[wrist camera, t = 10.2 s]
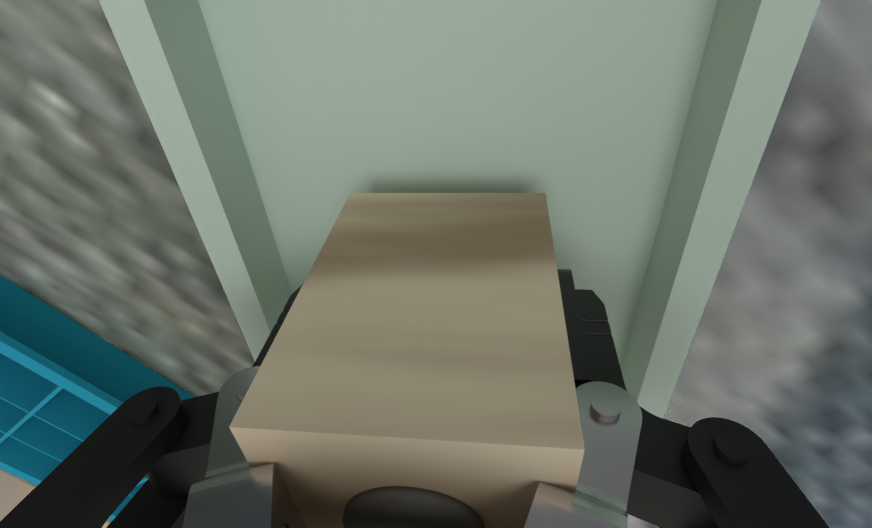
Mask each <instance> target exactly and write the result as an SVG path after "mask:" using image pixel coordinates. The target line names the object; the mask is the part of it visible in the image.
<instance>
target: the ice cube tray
mask: <svg viewBox="0 0 872 528" xmlns="http://www.w3.org/2000/svg"><path fill="white" fill-rule="evenodd" d="M159 386H163V387H170V388H172V389H174V390H175V391H177V393H178V394H179V396H180V398H181V399H182V400H186V399H190V398H195V397H194V396H193V395H191V394H190V393H188V392H186V391H185V390H183V389H182V388H180V387H178V386H177V385H175V384H174V383H172V382H170V381H169V380H167V379H166V378H164V377H162V376H161V375H159V374H158V373H156V372H154V371H153V370H151V369H150V368H148V367H146V366H145V365H143V364H142V363H140V362H138V361H137V360H135V359H134V358H132V357H130V356H129V355H127V354H126V353H124V352H122V351H121V350H119V349H118V348H116V347H114V346H113V345H111V344H110V343H108V342H106V341H105V340H103V339H102V338H100V337H98V336H97V335H95V334H94V333H92V332H90V331H89V330H87V329H86V328H84V327H82V326H81V325H79V324H78V323H76V322H74V321H73V320H71V319H70V318H68V317H66V316H65V315H63V314H62V313H60V312H58V311H57V310H55V309H54V308H52V307H50V306H49V305H47V304H46V303H44V302H42V301H41V300H39V299H38V298H36V297H34V296H33V295H31V294H30V293H28V292H26V291H25V290H23V289H22V288H20V287H18V286H17V285H15V284H14V283H12V282H10V281H9V280H7V279H6V278H4V277H2V276H1V275H0V469H3V470H5V471H7V472H9V473H11V474H13V475H15V476H18V477H20V478H22V479H24V480H26V481H28V482H30V483H33V484H35V485H37V486H38V485H39V484H40V483H41V482H42V481H43V480H44V479H45V478H46V477H47V476H48V475H49V474H50V473H51V472H52V471H53V470H54V469H55V468H56V467H57V466H58V465H59V464H60V463H61V462H62V461H63V460H64V459H66V458H67V457H68V456H69V455H70V454H71V453H72V452H73V451H74V450H75V449H76V448H77V447H78V446H79V445H80V444H81V443H82V442H83V441H84V440H85V439H86V438H87V437H88V436H89V435H90V434H91V433H92V432H93V431H94V430H95V429H96V428H98V427H99V426H100V425H101V424H102V423H103V422H104V421H105V420H106V419H107V418H108V417H109V416H110V415H111V414H112V413H113V412H114V411H115V410H116V409H117V408H118V407H119V406H120V405H121V404H122V403H124V402H125V401H126V400H127V399H129V398H130V397H131V396H133V395H135V394H137V393H139V392H141V391H143V390H146V389H149V388H153V387H159ZM147 480H148V479H147V478H146V477H145V476H144V478H143V479H142V480H141V481H140V482H139V483H138V485H137V486H136V487H135V488H134V489H133V490H132V491H131V493H130V494H129V495H128V496H127V497H126V498H125V500H124V501H123V502H122V503H121V504H120V505H119V506H118V508H117V509H116V510H115V511H114V512H113V513H112V515H111V516H110V517H109V518H108V519H110V520H112V521H113V520H114V518H115V517H116V516H117V515H118V514H119V513H120V511H121V510H122V509H123V508H124V507H125V505H126V504H127V503H128V502H129V501H130V500H131V498H132V497H133V496H134V495H135V494H136V493H137V491H138V490H139V489H140V488H141V487H142V486H143V484H144V483H145V482H146V481H147Z"/></svg>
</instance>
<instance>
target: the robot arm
mask: <svg viewBox="0 0 872 528" xmlns="http://www.w3.org/2000/svg"><path fill="white" fill-rule="evenodd" d="M557 271H558V278H559V284H560V291H561V297H562V304H563V310H564V317H565V323H566V330H567V336H568V343H569V350H570V356H571V363H572V369H573V376H574V382H575V389H576V395H577V402H578V408H579V415H580V421H581V428H582V434H583V441H584V447H585V451H584V456H583V460H582V464H581V469H580V473H579V477H578V482H577V486H576V491H575V492H573V491H570V490H568V489H566V488H563V487H560V486H556V485H553V484H549V483H545V482H540V483H539V485H538V488H537V491H536V494H535V497H534V500H533V503H532V506H531V509H530V512H529V515H528V518H527V521H526V524H525V527H524V528H626V527H627V518H628V515H627V514H630V515H632V516H635V517H637V518H640V519H642V520H644V521H647V522H649V523H652V524H654V525H657V526H659V527H660V528H829V527H828V525H827V524H826V523H825V521H824V520H823V519H822V518H821V516H820V515H819V514H818V512H817V511H816V510H815V508H814V507H813V506H812V504H811V503H810V502H809V500H808V499H807V498H806V496H805V495H804V494H803V493H802V491H801V490H800V489H799V487H798V486H797V485H796V483H795V482H794V481H793V479H792V478H791V477H790V475H789V474H788V473H787V472H786V470H785V469H784V468H783V466H782V465H781V464H780V462H779V461H778V460H777V458H776V457H775V456H774V454H773V453H772V452H771V451H770V449H769V448H768V447H767V445H766V444H765V443H764V442H763V441H762V439H761V438H760V437H758V436H757V435H756V434H755V433H754V432H752V431H751V430H750V429H748V428H746V427H745V426H743V425H741V424H739V423H737V422H734V421H731V420H728V419H724V418H715V417H713V418H705V419H702V420H699V421H697V422H696V423H695V424H693V426H692V427H691V428H690V427H687V426H684V425H681V424H678V423H675V422H672V421H669V420H666V419H663V418H660V417H657V416H655V415H653V414H651V413H649V412H648V411H646V410H645V409H643V408H642V407H641V406H639V404H638V403H637V401H636V400H635V398H634V397H633V396H632V395H631V394H630V393H629V392H628V391H627V389H626V387H625V384H624V380H623V376H622V372H621V368H620V364H619V360H618V356H617V352H616V348H615V344H614V341H613V337H612V336H611V329H610V325H609V323H608V317H607V313H606V309H605V305H604V303H603V302H602V301H601V300H600V298H599V297H598V296H597V295H596V294H595V293H594V291H593V290H582V289H575V286H574V281H573V276H572V271H571V270H570V269H557ZM301 287H302V285H301V286H300V287H299V288H298V289H297V290H296V291H295V292H293V293H292V294H291V295H290V297H289V299H288V301H287V303H286V305H285V307H284V309H283V312H281V314H280V316H279V318H278V320H277V324H275V325H274V327H273V329H272V331H271V333H270V335H269V337H268V338H267V340H266V342H265V344H264V346H263V348H262V350H261V352H260V353H259V355H258V357H257V359H256V361H255V363H254V365H253V366H252V367H250V368H247V369H244V370H242V371H240V372H238V373H236V374H235V375H233V376H232V377H231V378H230V379H228V380H227V381H226V383H225V384H224V385H223V386H222V388H221V390H220V392H216V393H212V394H208V395H204V396H199V397H195V398H190V399H186V400H182V399H181V398H180V396H179V394H178V393H177V391H175V390H174V389H172V388H170V387H163V386H159V387H153V388H149V389H146V390H143V391H141V392H139V393H137V394H135V395H133V396H131V397H130V398H129V399H127V400H126V401H125V402H124V403H122V404H121V405H120V406H119V407H118V408H117V409H116V410H115V411H114V412H113V413H112V414H111V415H110V416H109V417H108V418H107V419H106V420H105V421H104V422H103V423H102V424H101V425H100V426H99V427H98V428H96V429H95V430H94V431H93V432H92V433H91V434H90V435H89V436H88V437H87V438H86V439H85V440H84V441H83V442H82V443H81V444H80V445H79V446H78V447H77V448H76V449H75V450H74V451H73V452H72V453H71V454H70V455H69V456H68V457H67V458H66V459H64V460H63V461H62V462H61V463H60V464H59V465H58V466H57V467H56V468H55V469H54V470H53V471H52V472H51V473H50V474H49V475H48V476H47V477H46V478H45V479H44V480H43V481H42V482H41V483H40V484H39V485H38V486H37V487H36V488H35V489H34V490H32V491H31V492H30V493H29V495H27V496H26V497H25V498H24V499H23V500H22V501H21V502H20V503H19V504H18V505H17V506H16V507H15V508H14V509H13V510H12V511H11V512H10V513H9V514H8V515H7V516H6V517H5V518H4V519H3V520H2V521H0V528H102V526H103V525H104V523H105V522H106V520H107V519H108V518H109V517H110V516H111V515H112V513H113V512H114V511H115V510H116V509H117V508H118V506H119V505H120V504H121V503H122V502H123V501H124V500H125V498H126V497H127V496H128V495H129V494H130V493H131V491H132V490H133V489H134V488H135V487H136V486H137V485H138V483H139V482H140V481H141V480H142V479H143V478H144V476H145V477H146V478H147V479H148V480H147V481H146V482H145V483H144V484H143V486H142V487H141V488H140V489H139V490H138V491H137V493H136V494H135V495H134V496H133V497H132V498H131V500H130V501H129V502H128V503H127V504H126V505H125V507H124V508H123V509H122V510H121V511H120V513H119V514H118V515H117V516H116V517H115V518H114V520H113V521H112V522H111V523H110V524H109V525H108V527H107V528H306V526H305V524H304V522H303V520H302V518H301V516H300V514H299V512H298V509H297V507H296V505H295V503H294V501H293V499H292V497H291V495H290V493H289V491H288V489H287V487H286V485H285V482H284V480H283V478H282V476H281V474H280V472H279V470H278V468H277V466H276V464H275V462H273V463H265V464H260V465H255V466H251V467H250V465H249V463H248V461H247V459H246V458H245V456H244V454H243V452H242V450H241V448H240V446H239V445H238V443H237V441H236V439H235V437H234V435H233V434H232V432H231V430H230V428H229V426H230V424H231V422H232V420H233V418H234V416H235V414H236V413H237V411H238V409H239V407H240V405H241V403H242V401H243V399H244V397H245V395H246V393H247V391H248V389H249V387H250V385H251V384H252V382H253V380H254V378H255V376H256V374H257V372H258V370H259V368H260V366H261V364H262V362H263V360H264V358H265V357H266V355H267V353H268V351H269V349H270V347H271V345H272V343H273V341H274V339H275V337H276V335H277V333H278V331H279V329H280V328H281V326H282V324H283V322H284V320H285V318H286V316H287V314H288V312H289V310H290V308H291V306H292V304H293V302H294V301H295V299H296V297H297V295H298V293H299V291H300V289H301Z"/></svg>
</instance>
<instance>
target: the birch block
mask: <svg viewBox="0 0 872 528" xmlns="http://www.w3.org/2000/svg"><path fill="white" fill-rule="evenodd" d="M229 428H230V430H231V432H232V434H233V435H234V437H235V439H236V441H237V443H238V445H239V446H240V448H241V450H242V452H243V454H244V456H245V458H246V459H247V461H248V463H249V465H250V467H251V466H255V465H260V464H265V463H273V462H275V464H276V466H277V468H278V470H279V472H280V474H281V476H282V478H283V480H284V482H285V485H286V487H287V489H288V491H289V493H290V495H291V497H292V499H293V501H294V503H295V505H296V507H297V509H298V512H299V514H300V516H301V518H302V520H303V522H304V524H305V526H306V528H524V527H525V524H526V521H527V518H528V515H529V512H530V509H531V506H532V503H533V500H534V497H535V494H536V491H537V488H538V485H539V483H540V482H545V483H549V484H553V485H556V486H560V487H563V488H566V489H568V490H570V491H573V492H575V491H576V486H577V482H578V477H579V473H580V469H581V464H582V460H583V456H584V451H585V447H584V441H583V434H582V428H581V421H580V415H579V408H578V402H577V395H576V389H575V382H574V376H573V369H572V363H571V356H570V350H569V343H568V336H567V330H566V323H565V317H564V310H563V304H562V297H561V291H560V284H559V278H558V271H557V265H556V258H555V252H554V245H553V239H552V232H551V225H550V219H549V212H548V206H547V199H546V193H350V194H349V196H348V198H347V200H346V202H345V204H344V206H343V208H342V210H341V212H340V214H339V216H338V218H337V219H336V221H335V223H334V225H333V227H332V229H331V231H330V233H329V235H328V237H327V239H326V241H325V243H324V245H323V246H322V248H321V250H320V252H319V254H318V256H317V258H316V260H315V262H314V264H313V266H312V268H311V270H310V272H309V274H308V275H307V277H306V279H305V281H304V283H303V285H302V287H301V289H300V291H299V293H298V295H297V297H296V299H295V301H294V302H293V304H292V306H291V308H290V310H289V312H288V314H287V316H286V318H285V320H284V322H283V324H282V326H281V328H280V329H279V331H278V333H277V335H276V337H275V339H274V341H273V343H272V345H271V347H270V349H269V351H268V353H267V355H266V357H265V358H264V360H263V362H262V364H261V366H260V368H259V370H258V372H257V374H256V376H255V378H254V380H253V382H252V384H251V385H250V387H249V389H248V391H247V393H246V395H245V397H244V399H243V401H242V403H241V405H240V407H239V409H238V411H237V413H236V414H235V416H234V418H233V420H232V422H231V424H230V426H229Z"/></svg>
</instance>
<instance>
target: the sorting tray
mask: <svg viewBox="0 0 872 528" xmlns="http://www.w3.org/2000/svg"><path fill="white" fill-rule="evenodd" d="M99 1H100V4H101V6H102V8H103V11H104V13H105V15H106V18H107V20H108V22H109V25H110V27H111V29H112V32H113V34H114V36H115V38H116V41H117V43H118V45H119V48H120V50H121V52H122V55H123V57H124V59H125V62H126V64H127V66H128V69H129V71H130V73H131V76H132V78H133V80H134V83H135V85H136V87H137V90H138V92H139V94H140V96H141V99H142V101H143V103H144V106H145V108H146V110H147V113H148V115H149V117H150V120H151V122H152V124H153V127H154V129H155V131H156V134H157V136H158V138H159V141H160V143H161V145H162V147H163V150H164V152H165V154H166V157H167V159H168V161H169V164H170V166H171V168H172V171H173V173H174V175H175V178H176V180H177V182H178V185H179V187H180V189H181V192H182V194H183V196H184V198H185V201H186V203H187V205H188V208H189V210H190V212H191V215H192V217H193V219H194V222H195V224H196V226H197V229H198V231H199V233H200V236H201V238H202V240H203V243H204V245H205V247H206V250H207V252H208V254H209V256H210V259H211V261H212V263H213V266H214V268H215V270H216V273H217V275H218V277H219V280H220V282H221V284H222V287H223V289H224V291H225V294H226V296H227V298H228V301H229V303H230V305H231V307H232V310H233V312H234V314H235V317H236V319H237V321H238V324H239V326H240V328H241V331H242V333H243V335H244V338H245V340H246V342H247V345H248V347H249V349H250V352H251V354H252V356H253V359H254V361H256V359H257V357H258V355H259V353H260V352H261V350H262V348H263V346H264V344H265V342H266V340H267V338H268V337H269V335H270V333H271V331H272V329H273V327H274V325H275V324H277V320H278V318H279V316H280V314H281V312H283V309H284V307H285V305H286V303H287V301H288V299H289V297H290V295H291V294H292V293H293V292H295V291H296V290H297V289H298V288H299V287H300V286H301V285H303V283H304V281H305V279H306V277H307V275H308V274H309V272H310V270H311V268H312V266H313V264H314V262H315V260H316V258H317V256H318V254H319V252H320V250H321V248H322V246H323V245H324V243H325V241H326V239H327V237H328V235H329V233H330V231H331V229H332V227H333V225H334V223H335V221H336V219H337V218H338V216H339V214H340V212H341V210H342V208H343V206H344V204H345V202H346V200H347V198H348V196H349V194H350V193H546V199H547V206H548V212H549V219H550V225H551V232H552V239H553V245H554V252H555V258H556V265H557V269H570V270H571V271H572V276H573V281H574V286H575V289H582V290H593V291H594V293H595V294H596V295H597V296H598V297H599V298H600V300H601V301H602V302H603V303H604V305H605V309H606V313H607V317H608V323H609V325H610V329H611V336H612V337H613V341H614V344H615V348H616V352H617V356H618V360H619V364H620V368H621V372H622V376H623V380H624V384H625V387H626V389H627V391H628V392H629V393H630V394H631V395H632V396H633V397H634V398H635V400H636V401H637V403H638V404H639V406H641V407H642V408H643V409H645V410H646V411H648V412H649V413H651V414H653V415H655V416H657V417H660V418H664V415H665V412H666V410H667V407H668V405H669V402H670V399H671V397H672V394H673V391H674V389H675V386H676V383H677V381H678V378H679V375H680V373H681V370H682V367H683V365H684V362H685V359H686V357H687V354H688V351H689V349H690V346H691V344H692V341H693V338H694V336H695V333H696V330H697V328H698V325H699V322H700V320H701V317H702V314H703V312H704V309H705V306H706V304H707V301H708V298H709V296H710V293H711V290H712V288H713V285H714V282H715V280H716V277H717V275H718V272H719V269H720V267H721V264H722V261H723V259H724V256H725V253H726V251H727V248H728V245H729V243H730V240H731V237H732V235H733V232H734V229H735V227H736V224H737V221H738V219H739V216H740V214H741V211H742V208H743V206H744V203H745V200H746V198H747V195H748V192H749V190H750V187H751V184H752V182H753V179H754V176H755V174H756V171H757V168H758V166H759V163H760V160H761V158H762V155H763V153H764V150H765V147H766V145H767V142H768V139H769V137H770V134H771V131H772V129H773V126H774V123H775V121H776V118H777V115H778V113H779V110H780V107H781V105H782V102H783V99H784V97H785V94H786V92H787V89H788V86H789V84H790V81H791V78H792V76H793V73H794V70H795V68H796V65H797V62H798V60H799V57H800V54H801V52H802V49H803V46H804V44H805V41H806V38H807V36H808V33H809V30H810V28H811V25H812V23H813V20H814V17H815V15H816V12H817V9H818V7H819V4H820V1H821V0H99Z"/></svg>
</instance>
